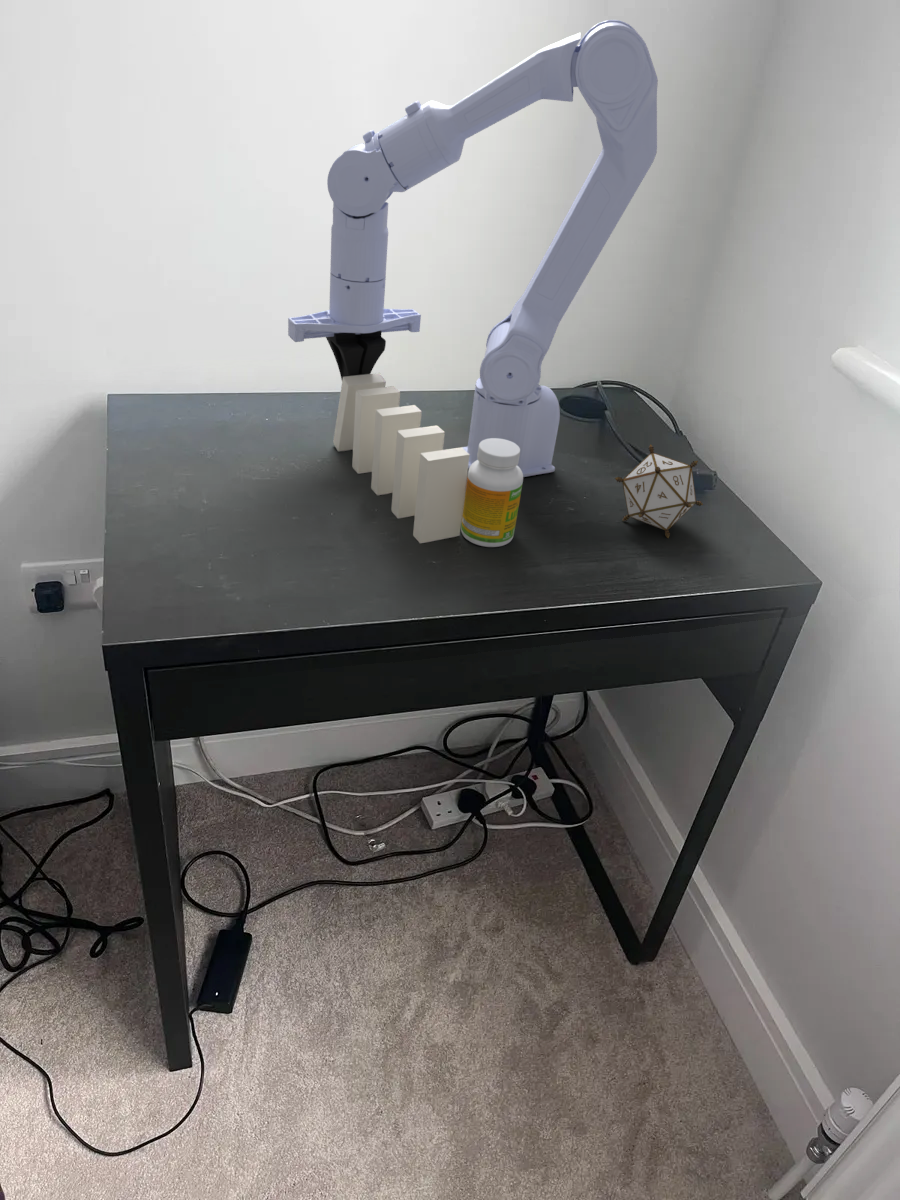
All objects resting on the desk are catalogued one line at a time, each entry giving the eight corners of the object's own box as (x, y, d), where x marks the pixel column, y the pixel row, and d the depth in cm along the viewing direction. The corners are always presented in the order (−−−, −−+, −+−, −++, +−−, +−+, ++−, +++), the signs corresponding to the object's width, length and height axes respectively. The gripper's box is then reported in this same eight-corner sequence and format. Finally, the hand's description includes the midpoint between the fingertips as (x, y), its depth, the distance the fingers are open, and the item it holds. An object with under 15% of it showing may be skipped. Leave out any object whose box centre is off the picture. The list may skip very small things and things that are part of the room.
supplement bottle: (509, 553, 90) (523, 464, 84) (455, 542, 90) (466, 453, 85) (516, 526, 94) (531, 440, 89) (465, 516, 95) (477, 430, 89)
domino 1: (368, 437, 106) (380, 372, 100) (373, 446, 106) (386, 381, 99) (333, 442, 105) (342, 376, 98) (338, 451, 104) (348, 385, 97)
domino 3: (408, 482, 99) (414, 405, 94) (414, 489, 98) (421, 411, 93) (371, 488, 98) (375, 409, 92) (377, 495, 96) (382, 416, 91)
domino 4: (429, 504, 96) (437, 425, 91) (436, 511, 95) (444, 432, 90) (391, 510, 94) (397, 430, 89) (398, 518, 93) (404, 437, 88)
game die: (642, 563, 98) (637, 520, 89) (606, 502, 102) (597, 456, 93) (718, 524, 98) (720, 478, 89) (678, 465, 101) (676, 415, 92)
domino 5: (451, 527, 93) (461, 447, 87) (459, 535, 92) (469, 454, 86) (412, 535, 91) (420, 453, 85) (420, 543, 90) (428, 460, 84)
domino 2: (388, 461, 103) (393, 386, 98) (394, 468, 102) (400, 392, 97) (352, 467, 101) (355, 390, 96) (358, 473, 100) (362, 396, 95)
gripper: (404, 259, 101) (395, 377, 108) (277, 265, 94) (278, 389, 102) (433, 279, 96) (422, 401, 104) (302, 286, 89) (301, 415, 97)
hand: (352, 397), depth 103 cm, fingers closed
